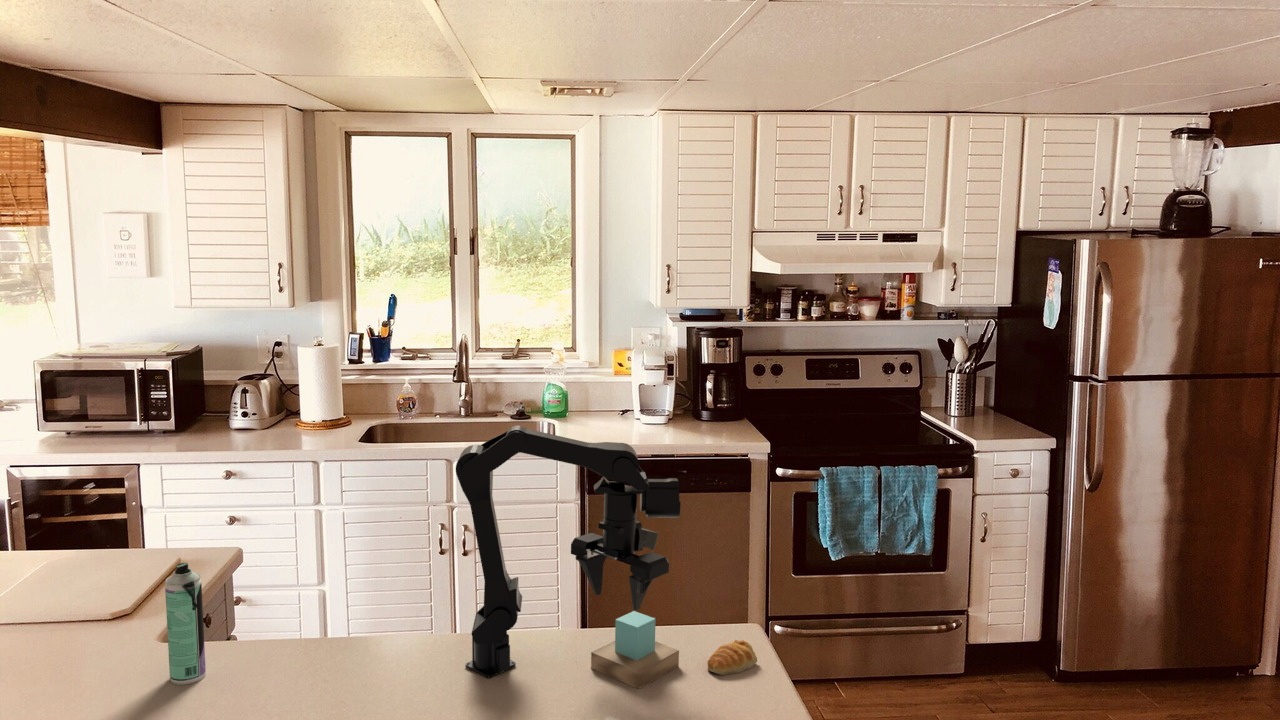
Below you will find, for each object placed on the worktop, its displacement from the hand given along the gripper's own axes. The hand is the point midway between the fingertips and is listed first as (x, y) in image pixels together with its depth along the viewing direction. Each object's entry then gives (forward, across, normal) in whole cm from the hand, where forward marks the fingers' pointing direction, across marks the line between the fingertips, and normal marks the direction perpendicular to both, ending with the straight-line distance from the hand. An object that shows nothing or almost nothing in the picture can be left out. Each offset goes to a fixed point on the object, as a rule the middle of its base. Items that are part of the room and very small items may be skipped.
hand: (617, 602), depth 163 cm
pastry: (+12, -16, -14) cm, 24 cm away
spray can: (+13, +50, +53) cm, 74 cm away
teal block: (+8, -3, -1) cm, 9 cm away
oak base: (+12, -4, -2) cm, 12 cm away
